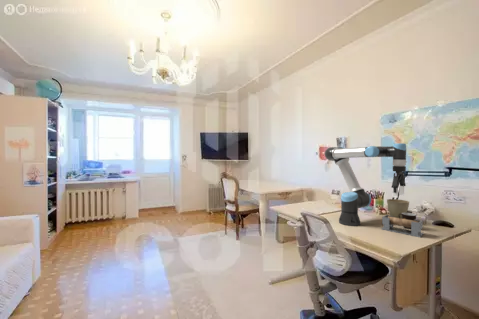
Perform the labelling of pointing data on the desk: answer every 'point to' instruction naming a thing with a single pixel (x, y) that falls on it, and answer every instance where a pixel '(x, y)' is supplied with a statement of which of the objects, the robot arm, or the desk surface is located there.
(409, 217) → the coffee mug
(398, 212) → the plant pot
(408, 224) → the wooden cylinder
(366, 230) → the desk surface
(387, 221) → the bracket
